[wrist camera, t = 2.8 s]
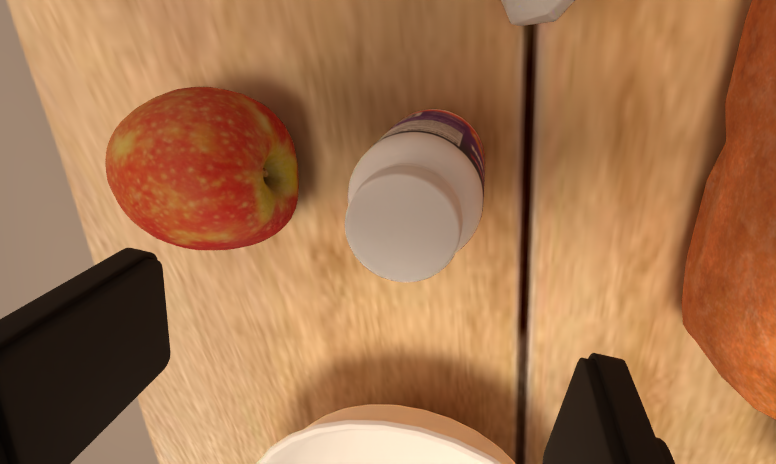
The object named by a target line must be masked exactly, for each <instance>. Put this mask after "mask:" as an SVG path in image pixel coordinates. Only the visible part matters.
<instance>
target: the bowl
mask: <svg viewBox="0 0 776 464" xmlns="http://www.w3.org/2000/svg"><path fill="white" fill-rule="evenodd" d="M256 464H516V463H515V462H514V461H513V460H512V459H511V458H510V457H509V456H508V455H507V454H506V453H505V452H504V451H503V450H502V449H501V448H500V447H499V446H497V445H496V444H494V443H493V442H492V441H490V440H489V439H487V438H486V437H484V436H483V435H482V434H480V433H479V432H477V431H476V430H474V429H472V428H470V427H468V426H465V425H463V424H461V423H459V422H457V421H455V420H453V419H451V418H448V417H445V416H442V415H439V414H436V413H433V412H430V411H427V410H424V409H418V408H412V407H406V406H400V405H378V404H368V405H362V406H355V407H349V408H344V409H341V410H338V411H335V412H333V413H330V414H327V415H324V416H323V417H321V418H319V419H318V420H316V421H315V422H313V423H312V424H310V425H309V426H307V427H306V428H305V429H303V430H300V431H297V432H294V433H292V434H290V435H288V436H287V437H285V438H283V439H282V440H280V441H279V442H277V443H276V444H274V445H273V446H271V447H270V448H269V449H268V450H267V451H266V453H265V454H264V455H263V456H262V457H261V458H260V459H259V461H258V462H257V463H256Z"/></svg>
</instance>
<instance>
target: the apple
mask: <svg viewBox="0 0 776 464" xmlns="http://www.w3.org/2000/svg"><path fill="white" fill-rule="evenodd" d="M106 173H107V180H108V183H109V186H110V188H111V190H112V192H113V194H114V196H115V198H116V200H117V202H118V203H119V205H120V207H121V208H122V210H123V211H124V212H125V213H126V215H127V216H128V217H129V218H130V219H131V220H132V221H133V222H134V223H135V224H137V225H138V226H139V227H140V228H141V229H143V230H144V231H146V232H147V233H149V234H151V235H152V236H154V237H156V238H157V239H160V240H162V241H165V242H167V243H170V244H173V245H176V246H180V247H183V248H188V249H194V250H228V249H235V248H240V247H245V246H250V245H254V244H257V243H259V242H262V241H264V240H266V239H268V238H270V237H271V236H273V235H275V234H276V233H277V232H279V231H280V230H281V229H282V228H283V227H284V226H285V225H286V224H287V223H288V222H289V220H290V219H291V217H292V215H293V213H294V211H295V209H296V205H297V201H298V189H299V178H298V163H297V159H296V152H295V148H294V144H293V141H292V139H291V137H290V134H289V133H288V130H287V129H286V127H285V125H284V124H283V123H282V122H281V121H280V119H279V118H278V117H277V116H276V115H275V114H274V113H273V112H272V111H271V110H270V109H268V108H267V107H266V106H265V105H263V104H261V103H259V102H258V101H256V100H254V99H252V98H250V97H247V96H245V95H243V94H241V93H237V92H232V91H229V90H224V89H218V88H212V87H191V88H183V89H177V90H174V91H170V92H168V93H165V94H162V95H160V96H158V97H155V98H153V99H151V100H149V101H148V102H146V103H144V104H143V105H141V106H139V107H138V108H136V109H135V110H134V111H132V112H131V113H130V114H129V115H128V116H127V117H126V118H125V119H124V120H123V121H122V122H121V123H120V124H119V125H118V127H117V128H116V129H115V131H114V133H113V134H112V136H111V138H110V141H109V143H108V147H107V151H106Z"/></svg>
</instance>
